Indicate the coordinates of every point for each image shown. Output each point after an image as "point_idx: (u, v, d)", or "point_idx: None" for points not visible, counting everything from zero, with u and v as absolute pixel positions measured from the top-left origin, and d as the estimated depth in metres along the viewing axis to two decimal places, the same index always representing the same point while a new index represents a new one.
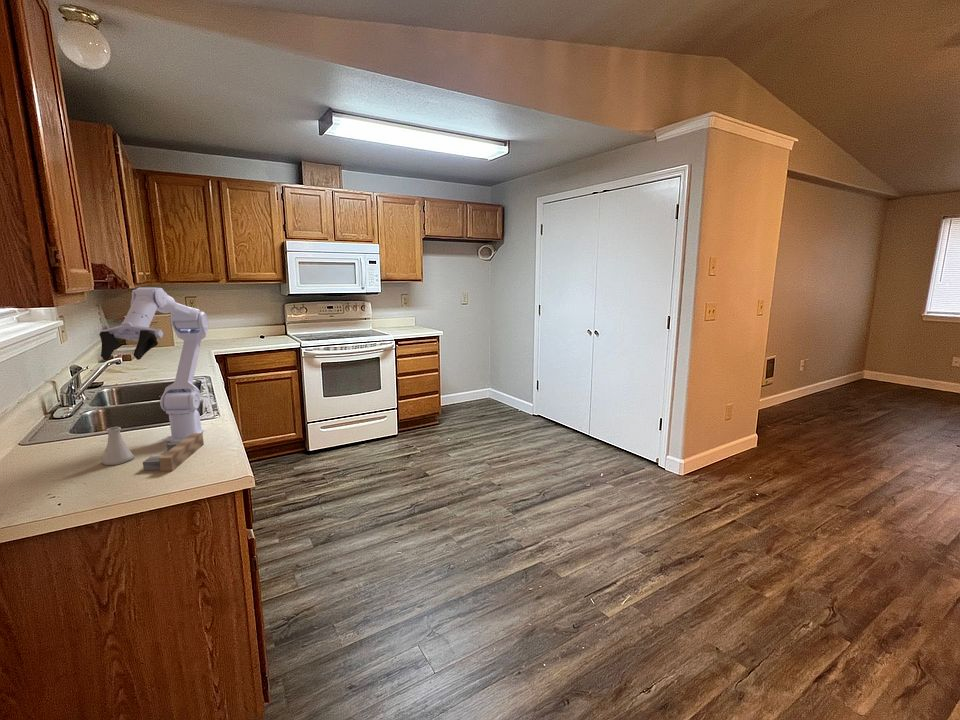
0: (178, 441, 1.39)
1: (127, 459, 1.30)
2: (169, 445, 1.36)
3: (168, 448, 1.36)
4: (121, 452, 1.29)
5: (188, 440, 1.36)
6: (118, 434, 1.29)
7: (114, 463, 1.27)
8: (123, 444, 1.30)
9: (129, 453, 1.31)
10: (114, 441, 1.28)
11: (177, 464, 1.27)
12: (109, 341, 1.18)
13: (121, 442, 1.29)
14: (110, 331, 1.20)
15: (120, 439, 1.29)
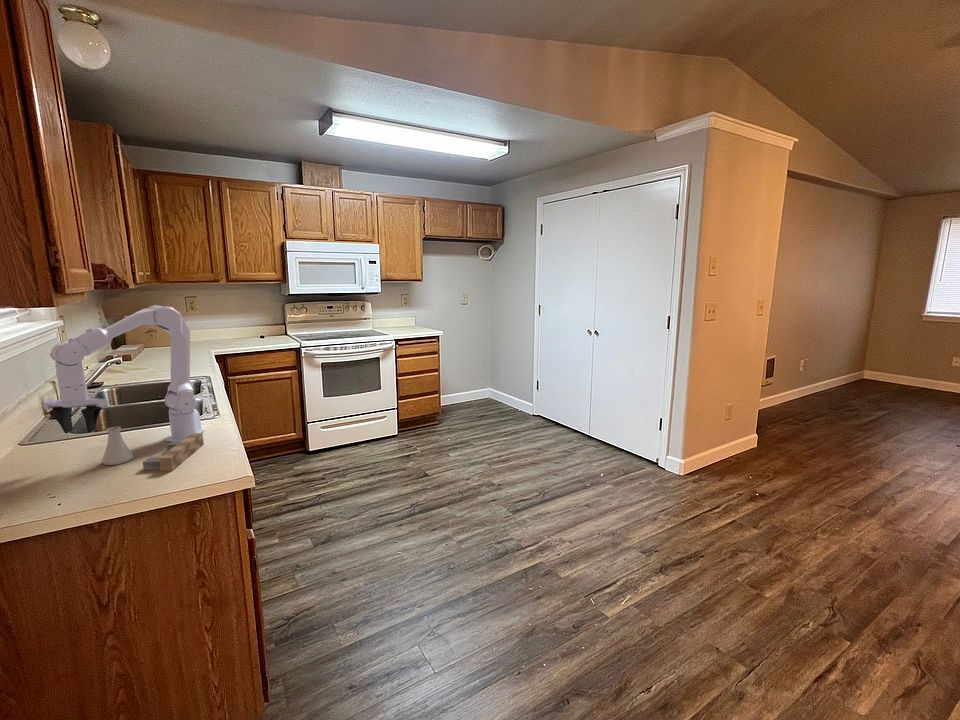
0: (178, 441, 1.39)
1: (127, 459, 1.30)
2: (169, 445, 1.36)
3: (168, 448, 1.36)
4: (121, 452, 1.29)
5: (188, 440, 1.36)
6: (118, 434, 1.29)
7: (114, 463, 1.27)
8: (123, 444, 1.30)
9: (129, 453, 1.31)
10: (114, 441, 1.28)
11: (177, 464, 1.27)
12: (63, 417, 1.25)
13: (121, 442, 1.29)
14: None
15: (120, 439, 1.29)
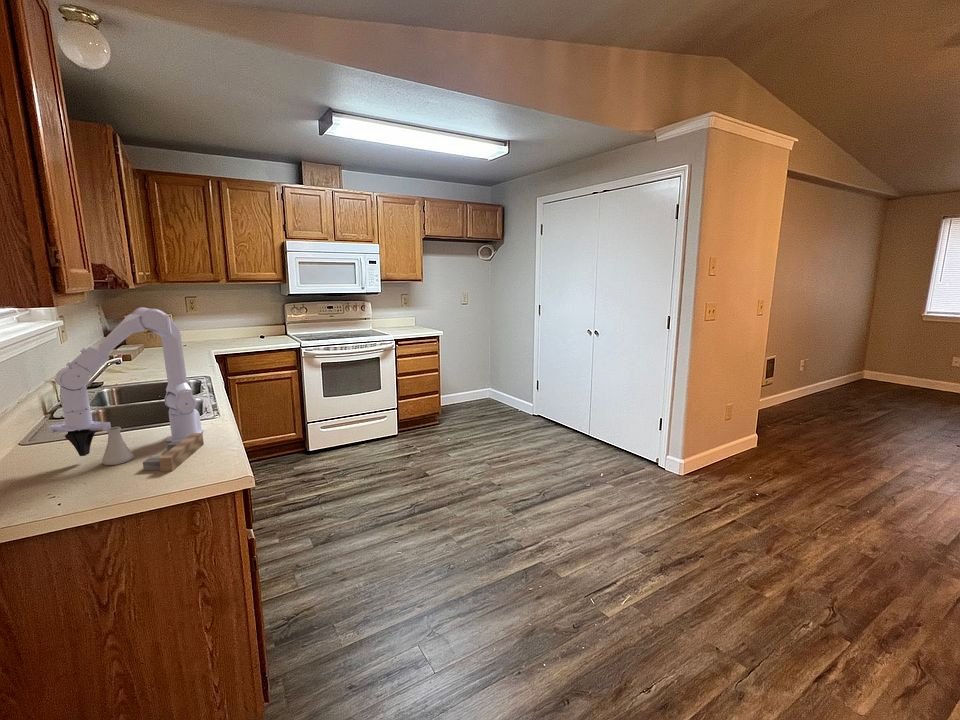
0: (178, 441, 1.39)
1: (127, 459, 1.30)
2: (169, 445, 1.36)
3: (168, 448, 1.36)
4: (121, 452, 1.29)
5: (188, 440, 1.36)
6: (118, 434, 1.29)
7: (114, 463, 1.27)
8: (123, 444, 1.30)
9: (129, 453, 1.31)
10: (114, 441, 1.28)
11: (177, 464, 1.27)
12: None
13: (121, 442, 1.29)
14: None
15: (120, 439, 1.29)
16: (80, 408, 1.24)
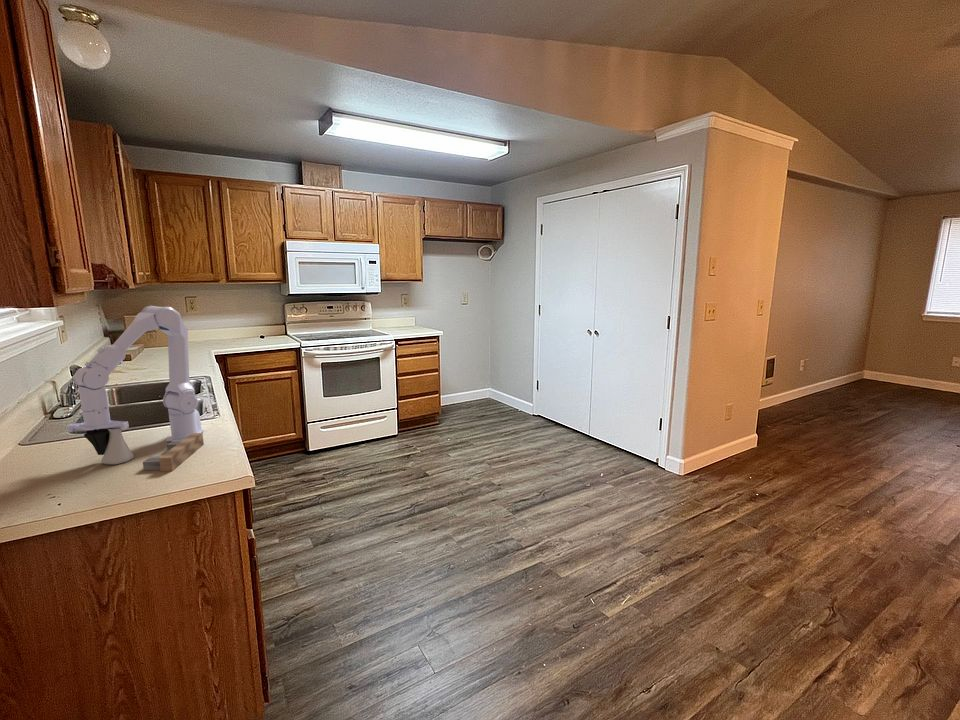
0: (178, 441, 1.39)
1: (127, 459, 1.30)
2: (169, 445, 1.36)
3: (168, 448, 1.36)
4: (122, 452, 1.29)
5: (188, 440, 1.36)
6: (119, 433, 1.29)
7: (114, 463, 1.27)
8: (124, 444, 1.30)
9: (129, 453, 1.31)
10: (115, 440, 1.28)
11: (177, 464, 1.27)
12: None
13: (122, 442, 1.29)
14: None
15: (121, 439, 1.29)
16: (101, 407, 1.26)
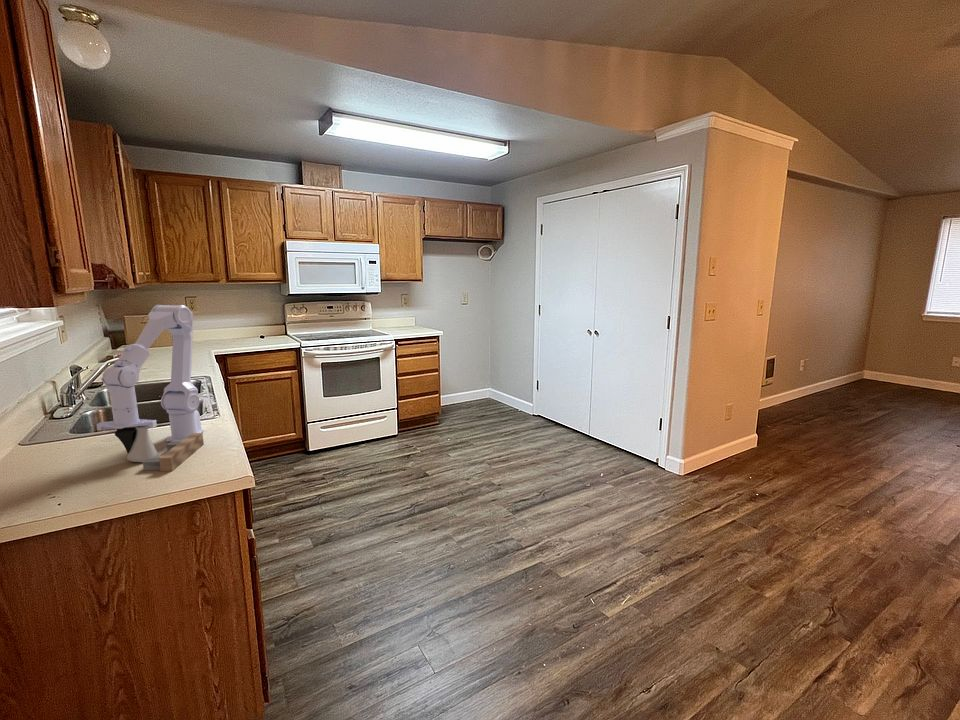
0: (178, 441, 1.39)
1: None
2: (169, 445, 1.36)
3: (168, 448, 1.36)
4: (148, 450, 1.30)
5: (188, 440, 1.36)
6: (146, 432, 1.30)
7: (141, 460, 1.28)
8: (150, 442, 1.31)
9: (154, 451, 1.32)
10: (142, 438, 1.29)
11: (177, 464, 1.27)
12: None
13: (148, 440, 1.31)
14: None
15: (148, 437, 1.31)
16: (133, 405, 1.28)
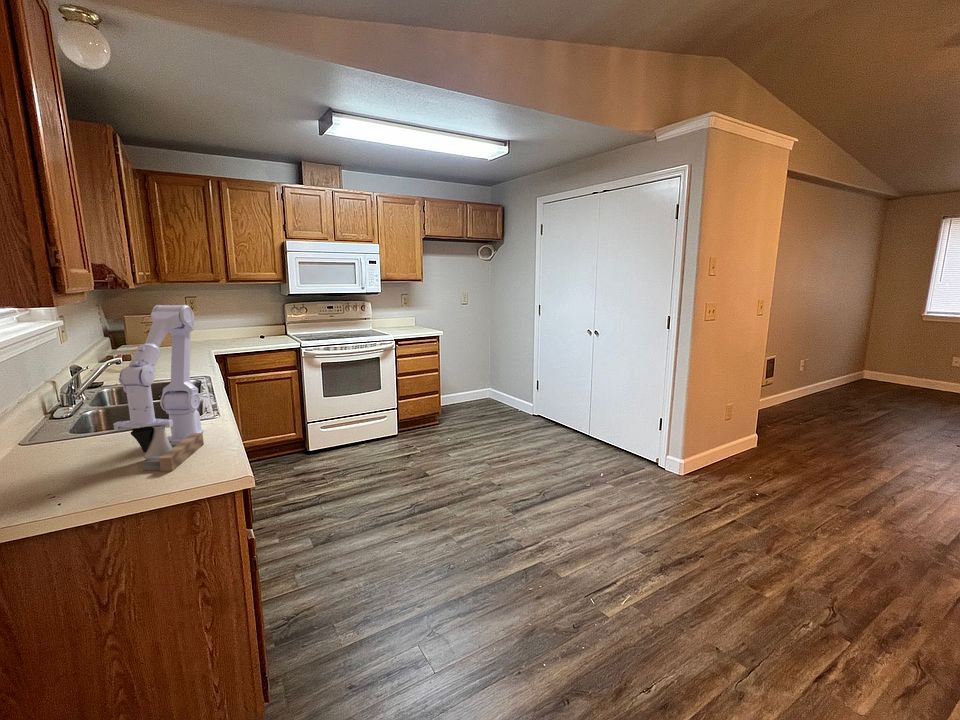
0: (178, 441, 1.39)
1: None
2: None
3: None
4: (165, 449, 1.31)
5: (188, 440, 1.36)
6: (163, 431, 1.31)
7: None
8: (167, 441, 1.32)
9: None
10: (159, 437, 1.30)
11: (177, 464, 1.27)
12: None
13: (165, 439, 1.32)
14: None
15: (165, 436, 1.31)
16: (151, 404, 1.29)
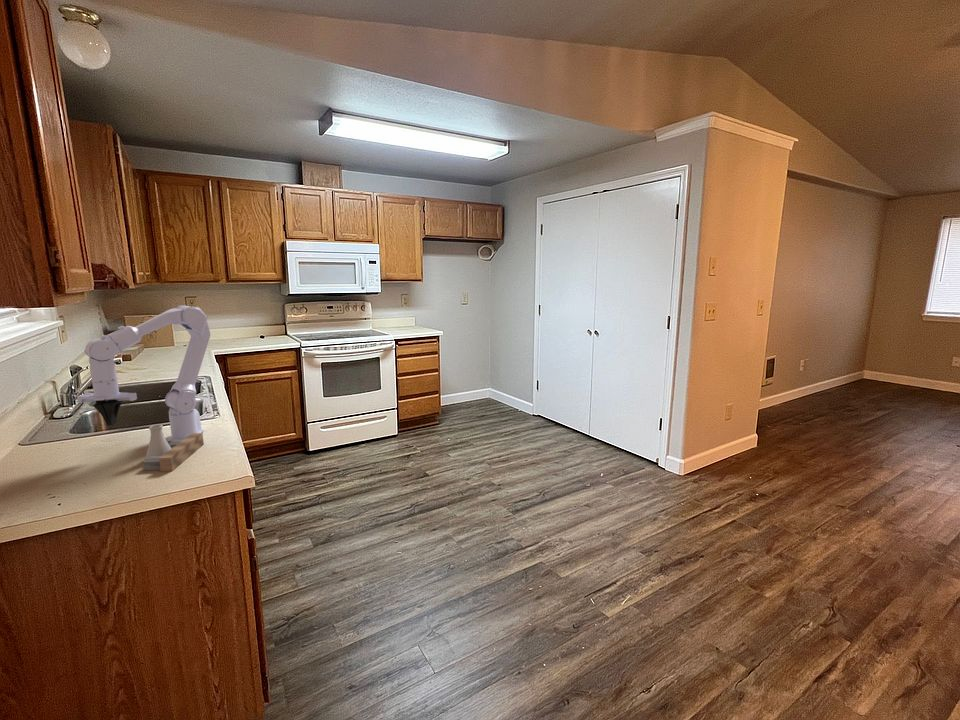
0: (178, 441, 1.39)
1: None
2: None
3: None
4: (164, 449, 1.31)
5: (188, 440, 1.36)
6: (161, 432, 1.31)
7: None
8: (165, 442, 1.32)
9: None
10: (157, 438, 1.30)
11: (177, 464, 1.27)
12: None
13: (163, 439, 1.32)
14: None
15: (162, 436, 1.31)
16: (107, 379, 1.29)
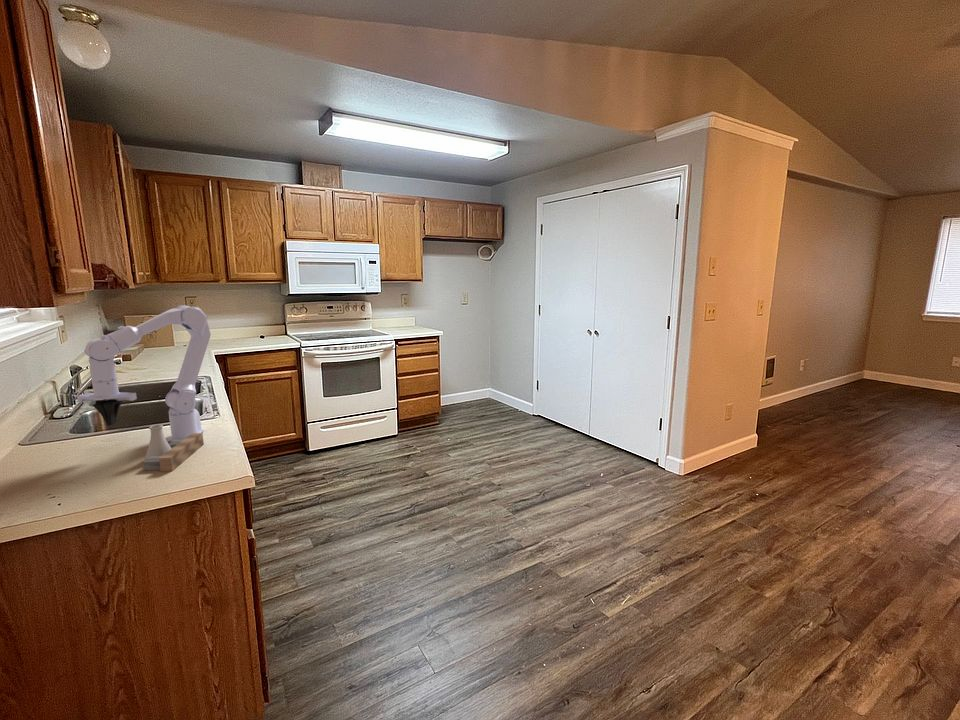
0: (178, 441, 1.39)
1: None
2: None
3: None
4: (164, 449, 1.31)
5: (188, 440, 1.36)
6: (161, 432, 1.31)
7: None
8: (165, 442, 1.32)
9: None
10: (157, 438, 1.30)
11: (177, 464, 1.27)
12: None
13: (163, 439, 1.32)
14: None
15: (162, 436, 1.31)
16: (107, 378, 1.29)
